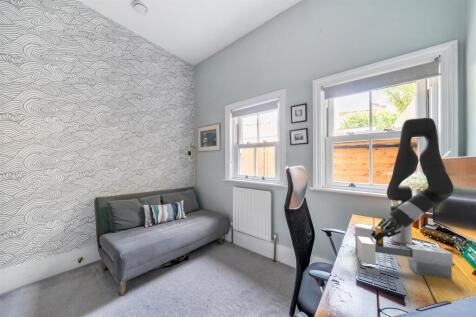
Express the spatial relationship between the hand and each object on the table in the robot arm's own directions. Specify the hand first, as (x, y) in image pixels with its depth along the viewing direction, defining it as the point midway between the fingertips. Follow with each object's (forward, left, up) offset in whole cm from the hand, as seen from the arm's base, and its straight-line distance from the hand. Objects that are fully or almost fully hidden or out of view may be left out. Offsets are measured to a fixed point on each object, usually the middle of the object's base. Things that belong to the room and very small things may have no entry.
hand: (374, 237), depth 84 cm
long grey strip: (0, +6, -6) cm, 9 cm away
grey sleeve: (0, +19, -12) cm, 22 cm away
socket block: (0, -3, -12) cm, 12 cm away
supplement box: (-15, 0, -12) cm, 19 cm away
